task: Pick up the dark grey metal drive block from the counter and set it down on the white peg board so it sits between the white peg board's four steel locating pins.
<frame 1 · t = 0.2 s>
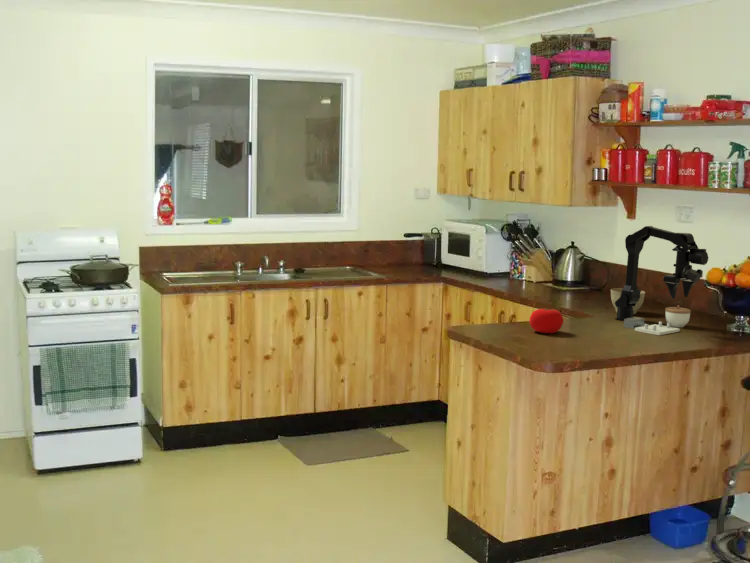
hand: (679, 297, 398), 14 cm above the worktop, tool pointing down, fingers open, 9 cm apart
lidded jar: (676, 326, 409), on the worktop
tomato: (545, 332, 384), on the worktop
drive: (633, 327, 403), on the worktop
white peg board: (657, 330, 396), on the worktop
planter bowl: (626, 313, 441), on the worktop
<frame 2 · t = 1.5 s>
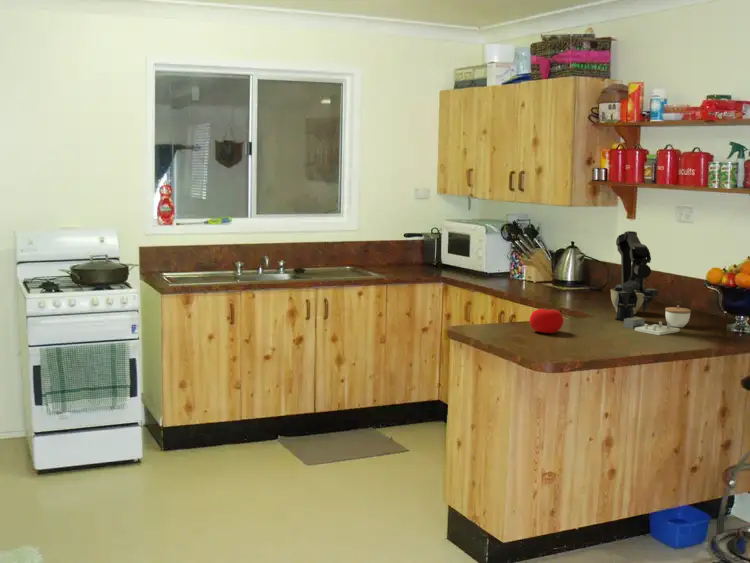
hand: (635, 309, 402), 8 cm above the worktop, tool pointing down, fingers open, 9 cm apart
nothing on the worktop moved.
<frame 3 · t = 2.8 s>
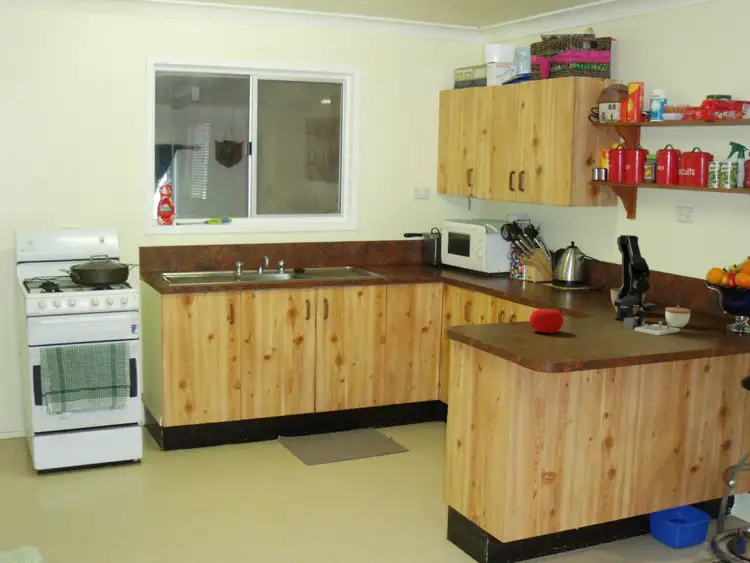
hand: (634, 324, 403), 1 cm above the worktop, tool pointing down, fingers closed on drive, 5 cm apart
drive: (633, 327, 403), on the worktop, touching gripper
everything else where it was.
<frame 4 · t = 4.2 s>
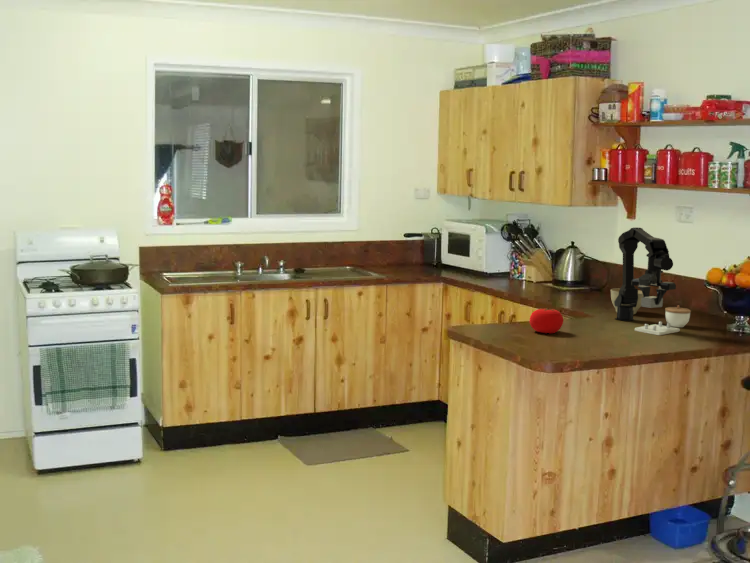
hand: (652, 303, 396), 12 cm above the worktop, tool pointing down, fingers closed on drive, 5 cm apart
drive: (651, 306, 396), point 10 cm above the worktop, touching gripper
everything else where it was.
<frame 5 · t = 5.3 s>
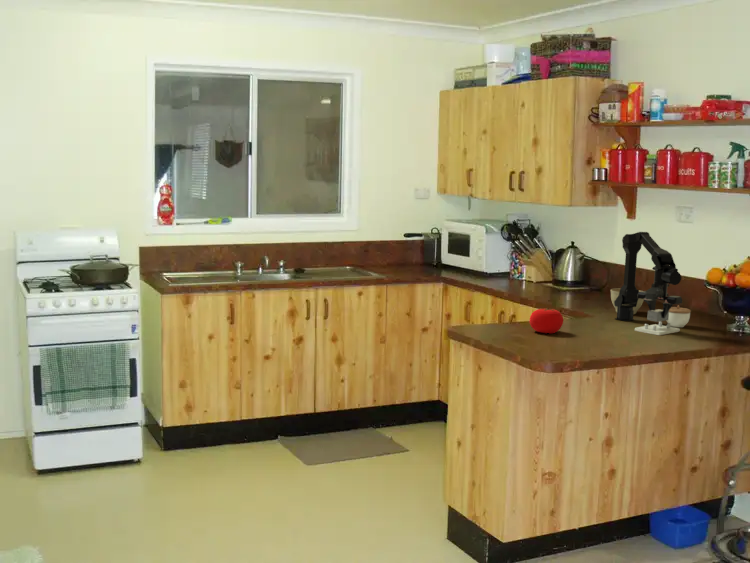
hand: (658, 317, 395), 6 cm above the worktop, tool pointing down, fingers closed on drive, 5 cm apart
drive: (657, 319, 395), point 5 cm above the worktop, touching gripper
everything else where it was.
when the fingers open (4 cm above the worktop, at t = 6.1 s): drive drops 1 cm, resting on white peg board.
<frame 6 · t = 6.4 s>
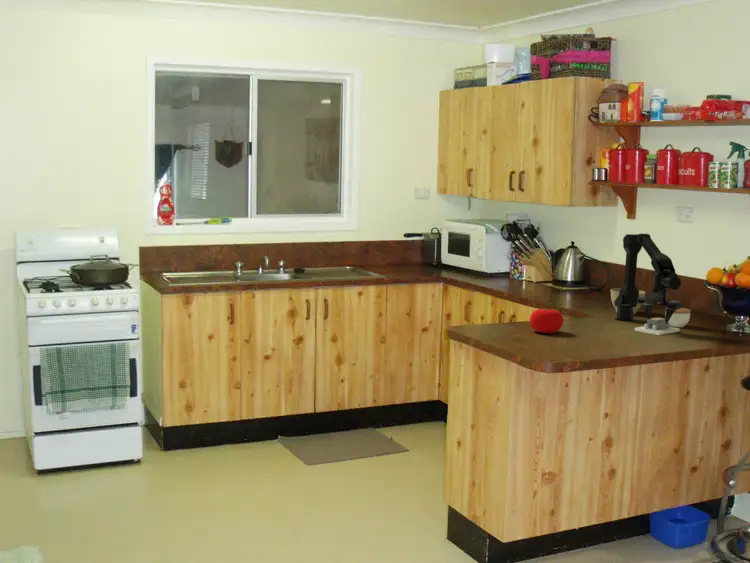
hand: (657, 322, 395), 4 cm above the worktop, tool pointing down, fingers open, 8 cm apart
drive: (656, 328, 395), point 1 cm above the worktop, touching white peg board
everything else where it was.
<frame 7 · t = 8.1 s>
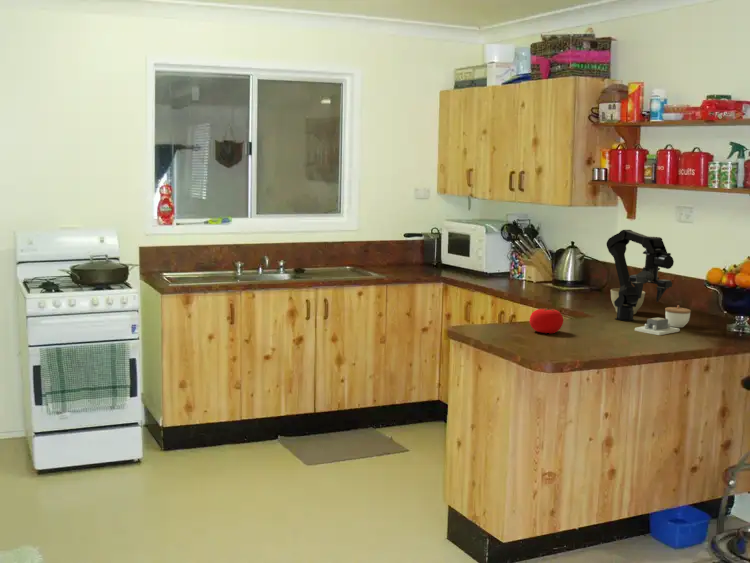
hand: (648, 300, 406), 12 cm above the worktop, tool pointing down, fingers open, 9 cm apart
nothing on the worktop moved.
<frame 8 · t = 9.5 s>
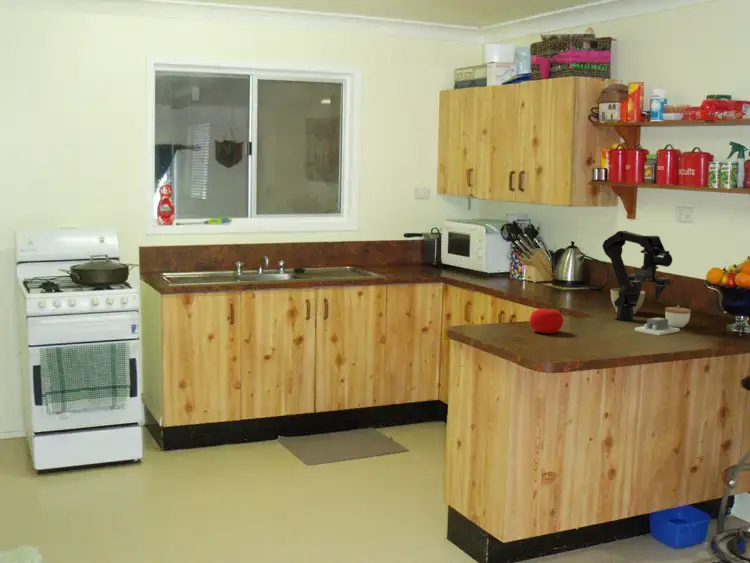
hand: (647, 298, 407), 12 cm above the worktop, tool pointing down, fingers open, 9 cm apart
nothing on the worktop moved.
at the end: drive 0.1 cm off-centre on the white peg board, point 1.2 cm above the white peg board's base; drive tilted 0°; the gripper is holding nothing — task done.
